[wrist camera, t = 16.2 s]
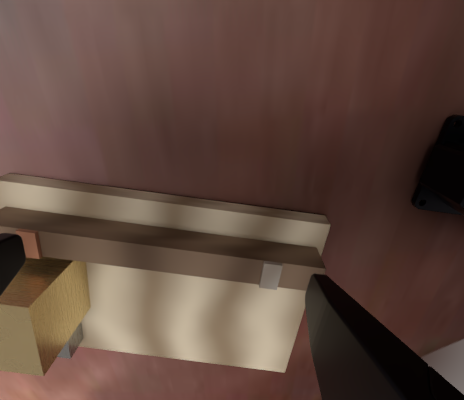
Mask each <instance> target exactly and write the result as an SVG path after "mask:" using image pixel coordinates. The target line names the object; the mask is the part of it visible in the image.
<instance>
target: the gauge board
mask: <svg viewBox="0 0 464 400" xmlns="http://www.w3.org/2000/svg"><path fill="white" fill-rule="evenodd" d="M330 226H331V225H330V223H329V221H328V220H327V218H326V216H325V215H318V214H310V213H303V212H295V211H288V210H280V209H273V208H266V207H258V206H251V205H243V204H236V203H228V202H221V201H213V200H206V199H198V198H191V197H183V196H176V195H168V194H161V193H154V192H146V191H139V190H131V189H124V188H116V187H109V186H101V185H94V184H86V183H79V182H71V181H64V180H57V179H49V178H42V177H34V176H27V175H19V174H12V173H9V174H6V175H3V176H1V177H0V234H1V233H12V234H18V235H20V236H21V237H22V240H23V245H24V250H25V254H26V257H27V258H35V259H40V258H41V257H42V256H43V257H51V258H58V259H66V260H74V261H81V262H86V267H87V276H88V286H89V295H90V305H91V308H90V309H89V311H88V312H87V313H86V315H85V316H84V318H83V319H82V321H81V324H82V331H83V340H82V341H81V343H80V345H79V346H80V347H88V348H96V349H104V350H111V351H119V352H127V353H135V354H143V355H151V356H159V357H166V358H174V359H182V360H190V361H198V362H206V363H214V364H222V365H229V366H237V367H245V368H253V369H261V370H269V371H277V372H284V373H285V370H286V367H287V364H288V361H289V357H290V354H291V351H292V348H293V345H294V341H295V338H296V335H297V332H298V328H299V325H300V322H301V319H302V316H303V312H304V309H305V294H306V290H307V287H308V284H309V280H310V277H311V275H312V274H314V273H316V274H323V275H324V273H325V270H326V268H325V266H324V263H323V261H322V259H321V255H322V251H323V248H324V245H325V242H326V238H327V235H328V232H329V229H330Z"/></svg>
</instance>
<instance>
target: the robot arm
mask: <svg viewBox="0 0 464 400" xmlns="http://www.w3.org/2000/svg"><path fill="white" fill-rule="evenodd" d="M455 121H458V123H457V125H456V126H453V125H454V122H455ZM421 200H423V201H422V203H420V204H419V202H420V201H421ZM412 204H413V205H414V206H415V207H416V208H418V209H422V210H430V211H437V212H444V213H452V214H459V215H464V116H460V115H453V116H451V117H449V118H448V119H447V121H446V123H445V125H444V127H443V130H442V132H441V134H440V137H439V139H438V141H437V143H436V146H435V147H434V149H433V151H432V153H431V156H430V158H429V160H428V163H427V165H426V167H425V170H424V172H423V174H422V177H421V179H420V183H419V185H418V188H417V190H416V192H415V195H414V197H413V199H412ZM25 260H26V254H25V250H24V245H23V240H22V237H21V236H20V235H18V234H12V233H1V234H0V296H1V295H2V293H3V292H4V291H5V289H6V288H7V287H8V285H9V284H10V283H11V281H12V280H13V279H14V277H15V276H16V275H17V273H18V272H19V271H20V269H21V268H22V267H23V265H24V263H25ZM305 306H306V314H307V323H308V331H309V340H310V347H311V353H312V357H313V362H314V366H315V371H316V375H317V379H318V383H319V388H320V392H321V396H322V400H464V395H463V394H462V393H461V392H459V391H458V390H457V389H456V388H455V387H454V386H452V385H451V384H450V383H449V382H448V381H447V380H445V379H444V378H443V377H442V376H441V375H440V374H439V373H438V372H436V371H435V370H434V369H433V368H432V367H430V366H429V367H428V364H427V363H426V362H424V360H422V359H421V358H420V357H419V356H418V355H417V354H416V353H415V352H413V351H412V350H411V349H410V348H409V347H408V346H407V345H405V344H404V343H403V342H402V341H401V340H400V339H399V338H397V337H396V336H395V335H394V334H393V333H392V332H391V331H389V330H388V329H387V328H386V327H385V326H384V325H383V324H381V323H380V322H379V321H378V320H377V319H376V318H375V317H373V316H372V315H371V314H370V313H369V312H368V311H367V310H365V309H364V308H363V307H362V306H361V305H360V304H359V303H357V302H356V301H355V300H354V299H353V298H352V297H351V296H349V295H348V294H347V293H346V292H345V291H344V290H343V289H342V288H340V287H339V286H338V285H337V284H336V283H335V282H334V281H332V280H331V279H330V278H329V277H328V276H326V275H323V274H316V273H314V274H312V275H311V277H310V280H309V284H308V287H307V290H306V294H305Z"/></svg>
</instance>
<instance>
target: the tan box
mask: <svg viewBox="0 0 464 400" xmlns="http://www.w3.org/2000/svg"><path fill="white" fill-rule="evenodd" d="M90 308H91V305H90V295H89V286H88V276H87V267H86V262H81V261H74V260H66V259H58V258H51V257H43V256H42V257H41V258H40V259H35V258H27V257H26V260H25V263H24V265H23V267H22V268H21V269H20V271H19V272H18V273H17V275H16V276H15V277H14V279H13V280H12V281H11V283H10V284H9V285H8V287H7V288H6V289H5V291H4V292H3V293H2V295H1V296H0V371H8V372H16V373H24V374H31V375H39V376H44V375H45V373H46V372H47V371H48V369H49V368H50V366H51V365H52V363H53V362H54V360H55V359H56V357H62V358H69V359H71V357H72V356H73V354H74V353H75V351H76V349H77V348H78V346H79V345H80V343H81V341H82V340H83V331H82V324H81V321H82V319H83V318H84V316H85V315H86V313H87V312H88V311H89V309H90Z"/></svg>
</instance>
